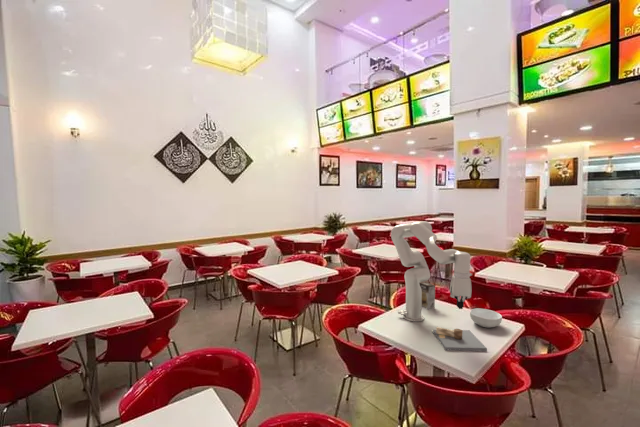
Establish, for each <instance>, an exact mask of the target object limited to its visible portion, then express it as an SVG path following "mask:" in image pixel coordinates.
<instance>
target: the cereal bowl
mask: <svg viewBox="0 0 640 427" xmlns="http://www.w3.org/2000/svg"><path fill="white" fill-rule="evenodd" d="M469 316H470V319H471V320H472V322H474V323H475V324H477V325H478V326H479V327H483V328H488V329H489V328H494V327H495V328H496V327H498V326H500V325H501V323H502V322H503V316H502V314H500V313H499V312H498V311H497V312H496V311H495V310H491V309H487V308H479V307H478V308H477V307H476V308H472V309H470V311H469Z"/></svg>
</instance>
